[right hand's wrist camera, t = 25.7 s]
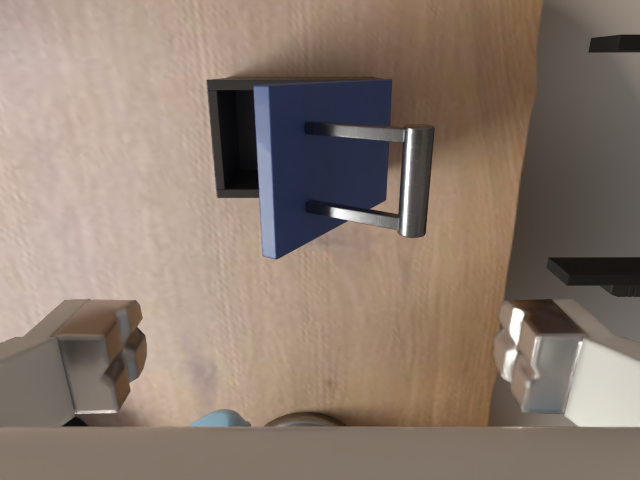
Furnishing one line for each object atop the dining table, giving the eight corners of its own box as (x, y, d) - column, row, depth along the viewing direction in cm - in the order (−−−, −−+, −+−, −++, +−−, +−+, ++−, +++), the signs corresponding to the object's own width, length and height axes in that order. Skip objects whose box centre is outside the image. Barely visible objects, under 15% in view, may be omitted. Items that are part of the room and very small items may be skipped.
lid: (261, 256, 26) (396, 292, 22) (252, 84, 23) (410, 87, 19) (374, 198, 38) (477, 214, 34) (379, 79, 35) (494, 80, 30)
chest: (234, 175, 46) (216, 198, 38) (227, 77, 43) (206, 79, 35) (369, 175, 46) (379, 197, 38) (372, 77, 43) (385, 79, 35)
